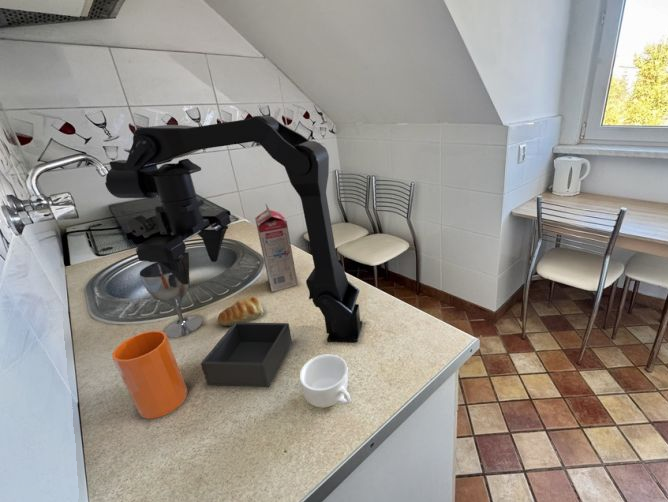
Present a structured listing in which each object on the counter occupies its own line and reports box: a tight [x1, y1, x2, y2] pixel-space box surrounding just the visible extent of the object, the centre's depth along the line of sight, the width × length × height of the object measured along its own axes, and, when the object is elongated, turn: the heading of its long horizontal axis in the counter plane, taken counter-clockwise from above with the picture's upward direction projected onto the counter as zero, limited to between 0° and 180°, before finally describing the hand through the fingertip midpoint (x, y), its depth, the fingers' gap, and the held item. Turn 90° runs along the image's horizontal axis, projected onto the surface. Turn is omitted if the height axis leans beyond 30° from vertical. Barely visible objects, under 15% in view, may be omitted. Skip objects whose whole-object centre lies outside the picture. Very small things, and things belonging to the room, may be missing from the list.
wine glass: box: [139, 262, 203, 338], centre depth 69 cm, size 8×8×15 cm
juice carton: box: [254, 203, 298, 293], centre depth 85 cm, size 7×7×22 cm
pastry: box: [217, 295, 264, 327], centre depth 74 cm, size 9×7×4 cm
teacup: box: [299, 353, 352, 408], centre depth 53 cm, size 10×8×5 cm
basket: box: [200, 321, 293, 388], centre depth 61 cm, size 11×11×5 cm
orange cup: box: [111, 330, 189, 420], centre depth 52 cm, size 7×7×12 cm
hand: (200, 272), depth 65 cm, fingers open, 9 cm apart
